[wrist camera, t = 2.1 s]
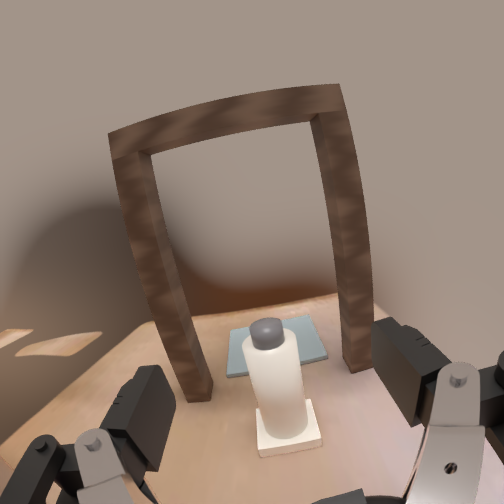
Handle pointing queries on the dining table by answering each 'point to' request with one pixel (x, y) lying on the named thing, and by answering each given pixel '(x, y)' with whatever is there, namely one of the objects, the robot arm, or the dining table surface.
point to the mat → (301, 326)
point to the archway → (225, 123)
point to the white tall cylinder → (279, 390)
